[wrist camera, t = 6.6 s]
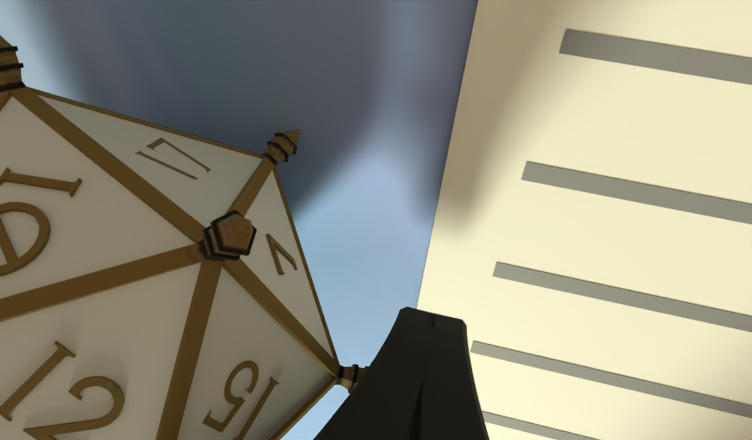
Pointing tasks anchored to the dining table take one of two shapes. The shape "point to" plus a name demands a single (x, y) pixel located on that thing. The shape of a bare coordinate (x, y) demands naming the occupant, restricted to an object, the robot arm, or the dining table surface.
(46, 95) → the game die
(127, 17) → the dining table surface
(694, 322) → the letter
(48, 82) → the dining table surface
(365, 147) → the dining table surface
